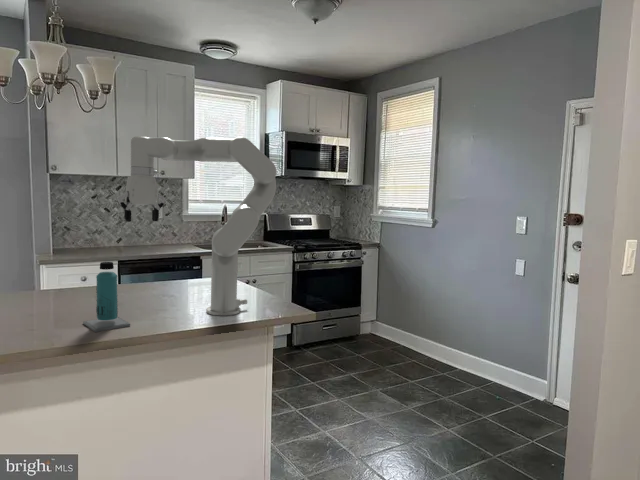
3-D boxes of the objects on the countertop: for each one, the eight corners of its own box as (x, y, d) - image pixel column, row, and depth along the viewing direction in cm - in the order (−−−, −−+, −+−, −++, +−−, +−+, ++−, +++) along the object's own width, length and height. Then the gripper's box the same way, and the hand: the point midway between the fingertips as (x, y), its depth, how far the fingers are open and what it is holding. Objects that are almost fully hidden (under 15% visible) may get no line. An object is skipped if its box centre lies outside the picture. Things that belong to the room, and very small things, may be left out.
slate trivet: (117, 318, 161) (117, 316, 161) (130, 326, 153) (130, 323, 153) (83, 323, 154) (83, 321, 154) (95, 332, 146) (95, 329, 146)
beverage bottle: (121, 319, 157) (121, 260, 155) (113, 325, 150) (113, 263, 148) (101, 319, 157) (101, 260, 154) (92, 324, 150) (92, 263, 148)
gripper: (160, 174, 173) (160, 220, 175) (112, 171, 161) (112, 220, 163) (170, 174, 168) (169, 221, 169) (121, 171, 156) (121, 222, 157)
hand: (141, 221), depth 166 cm, fingers open, 9 cm apart
